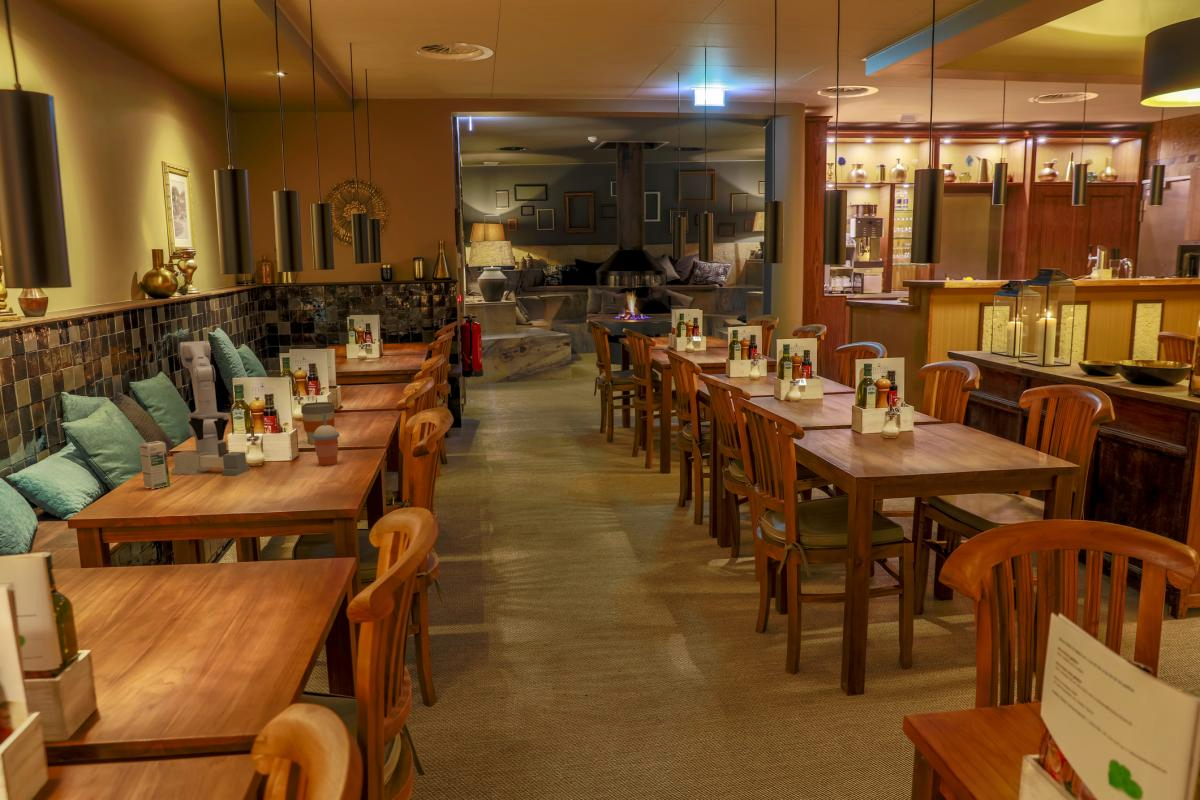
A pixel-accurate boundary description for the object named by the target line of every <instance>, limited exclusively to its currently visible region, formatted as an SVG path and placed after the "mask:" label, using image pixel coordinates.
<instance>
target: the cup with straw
mask: <svg viewBox="0 0 1200 800" xmlns="http://www.w3.org/2000/svg"><path fill="white" fill-rule="evenodd" d="M323 422H324V425H322V426H320V427H318V428H317V429H316V430H315V432H314V434H313V435H312V438H313V439H314V440H315V445H314V448H315V453H316V457H317V461H318V465H319V466H325V467H326V466H333V465H334V466H335V465H337V463H338V454H339V441H338V440H339V438H340V433H339V431H337V429H336V428H335V426H334V427H332V426H330V425H326V413H323Z"/></svg>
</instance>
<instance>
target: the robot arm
mask: <svg viewBox="0 0 1200 800" xmlns="http://www.w3.org/2000/svg"><path fill="white" fill-rule="evenodd" d="M179 354H180V359H181V364H182V366H183V368H186V369H187V370H188V372H189V373H190V379H191V385H192V390H193V397H194V404H195V410H194V411H193V412H189V413H187V415H186V416H187V420H188V425H189V433H190V436H191V437H192V438H194V442H195V451H207V455H218V444H219V443H222V442H224V436H225V432H226V428H227V426H228V424H229V420H230V413H229V412H219V411H218V408H217V407H218V406H217V398H216V387H215V382H216V370H215V367H214V365H213V364H211V363H210V362H211V356H212V355H211V354H212V352H211V343H210V342H209V340H206V339H205V340H195V341H181V342H180V343H179Z"/></svg>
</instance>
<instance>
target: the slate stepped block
mask: <svg viewBox="0 0 1200 800" xmlns="http://www.w3.org/2000/svg"><path fill="white" fill-rule="evenodd" d="M246 457H247V456H246V452H245V451H230V452H227V454H225V455H223V462H224V467H223V468H222V469H221V476H231V477H232V476H238V475H240V474H243V473H245V472H248V471H249V470H250V466H249V464H248V463H247V458H246Z"/></svg>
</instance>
